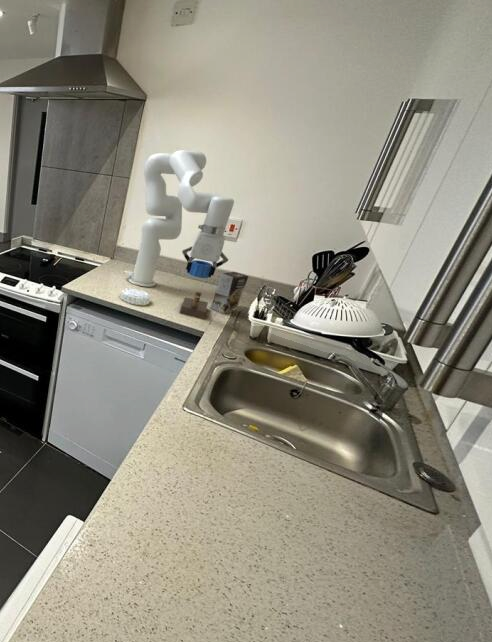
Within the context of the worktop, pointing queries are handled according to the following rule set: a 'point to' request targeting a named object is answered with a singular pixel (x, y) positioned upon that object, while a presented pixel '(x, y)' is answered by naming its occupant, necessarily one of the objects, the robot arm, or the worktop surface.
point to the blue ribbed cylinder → (200, 269)
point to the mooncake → (135, 296)
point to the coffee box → (229, 292)
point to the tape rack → (194, 306)
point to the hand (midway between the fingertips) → (198, 273)
